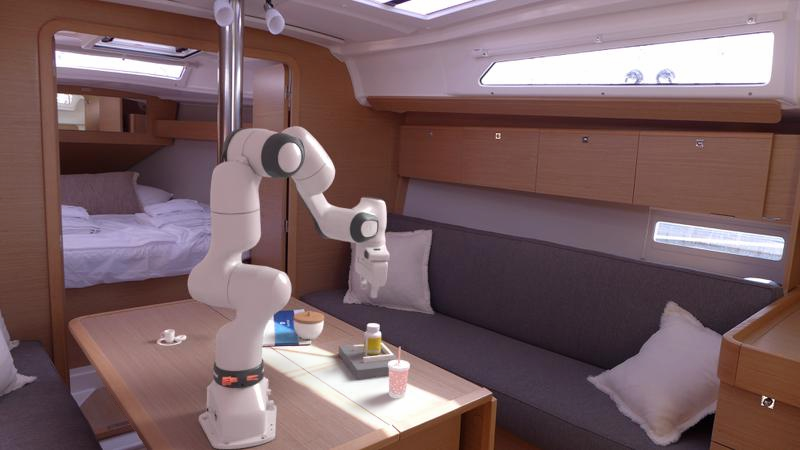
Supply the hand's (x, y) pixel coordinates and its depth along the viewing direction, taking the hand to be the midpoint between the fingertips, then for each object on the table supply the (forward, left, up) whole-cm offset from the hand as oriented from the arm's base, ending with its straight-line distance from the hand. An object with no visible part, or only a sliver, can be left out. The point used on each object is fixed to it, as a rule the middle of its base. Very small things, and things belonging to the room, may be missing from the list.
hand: (368, 293), depth 171 cm
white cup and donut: (+32, +56, -24) cm, 69 cm away
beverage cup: (-23, -2, -23) cm, 32 cm away
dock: (-1, -1, -23) cm, 23 cm away
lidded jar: (+27, +12, -23) cm, 38 cm away
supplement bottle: (-1, -2, -20) cm, 20 cm away
